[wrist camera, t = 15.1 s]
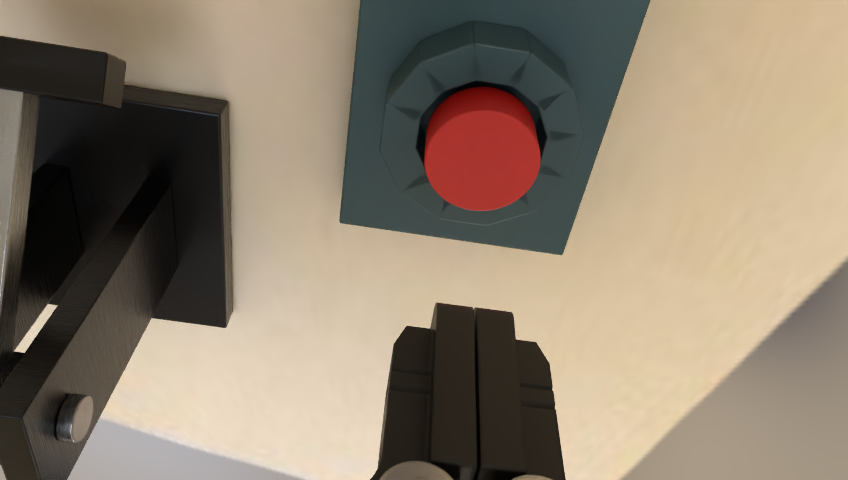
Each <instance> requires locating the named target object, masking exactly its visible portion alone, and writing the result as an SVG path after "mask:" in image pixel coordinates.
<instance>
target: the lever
mask: <svg viewBox="0 0 848 480" xmlns="http://www.w3.org/2000/svg"><path fill="white" fill-rule="evenodd" d="M125 70H126V62H125V61H124V60H122V59H119V58H117V57H115V56H113V55H111V54H108V53H106V52H100V51H94V50H88V49H81V48H75V47H69V46H62V45H56V44H49V43H43V42H37V41H30V40H24V39H18V38H11V37H5V36H0V388H1V386H2V385H3V383H4V382H5V381H6V379H7V378H8V376H9V375H10V373H11V372H12V371H13V369H14V368H15V366H16V365H17V363H18V362H19V361H20V359H21V358H22V356H23V355H24V353H20V352H13V349H14V340H15V330H16V321H17V311H18V302H19V292H20V283H21V274H22V264H23V255H24V245H25V236H26V226H27V217H28V208H29V198H30V189H31V179H32V170H33V160H34V151H35V142H36V132H37V123H38V113H39V104H40V97H43V98H50V99H56V100H63V101H69V102H76V103H82V104H89V105H96V106H102V107H109V108H115V109H120V108H121V104H122V96H123V87H124V78H125ZM0 465H1V463H0Z"/></svg>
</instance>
